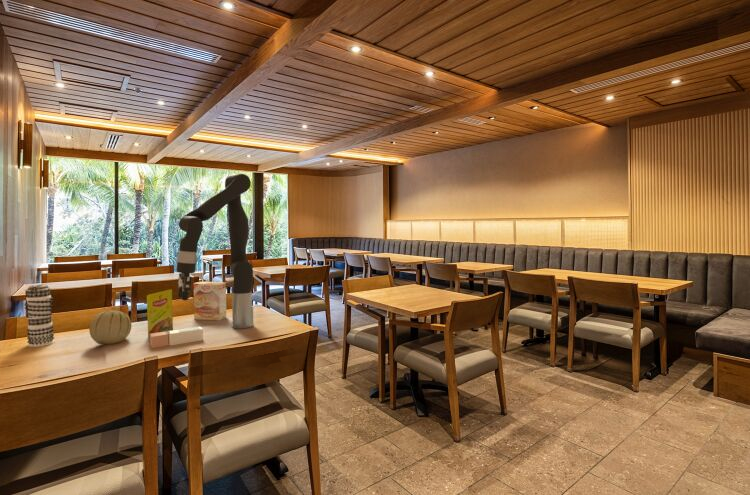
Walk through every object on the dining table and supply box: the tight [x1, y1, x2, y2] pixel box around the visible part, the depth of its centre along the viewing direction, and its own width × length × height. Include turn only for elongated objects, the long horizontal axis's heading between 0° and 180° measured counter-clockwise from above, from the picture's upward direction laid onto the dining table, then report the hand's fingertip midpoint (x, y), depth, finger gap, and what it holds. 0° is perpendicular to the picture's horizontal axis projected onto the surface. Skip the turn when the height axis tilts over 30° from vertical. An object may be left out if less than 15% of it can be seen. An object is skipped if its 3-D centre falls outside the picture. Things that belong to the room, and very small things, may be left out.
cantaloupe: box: [88, 307, 132, 346], centre depth 164 cm, size 15×15×15 cm
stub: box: [149, 331, 169, 349], centre depth 159 cm, size 6×5×5 cm
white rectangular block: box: [167, 326, 204, 347], centre depth 165 cm, size 13×5×5 cm, turn 126°
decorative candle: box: [24, 284, 55, 348], centre depth 164 cm, size 9×9×25 cm
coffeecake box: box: [193, 281, 227, 321], centre depth 207 cm, size 15×7×20 cm, turn 80°
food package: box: [146, 289, 174, 338], centre depth 177 cm, size 15×1×20 cm, turn 168°
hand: (182, 298), depth 169 cm, fingers open, 8 cm apart
